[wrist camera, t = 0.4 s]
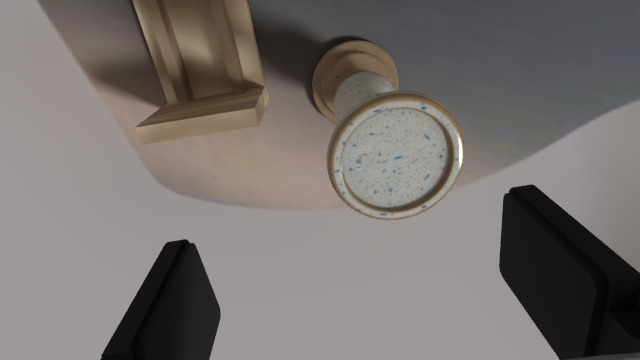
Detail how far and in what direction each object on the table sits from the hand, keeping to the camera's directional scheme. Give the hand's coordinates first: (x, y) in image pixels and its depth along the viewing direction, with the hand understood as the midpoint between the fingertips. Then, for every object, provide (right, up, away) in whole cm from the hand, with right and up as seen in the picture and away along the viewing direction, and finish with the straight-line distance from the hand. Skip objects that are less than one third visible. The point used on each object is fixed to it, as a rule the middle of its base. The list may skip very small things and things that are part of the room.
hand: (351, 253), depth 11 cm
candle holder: (+3, +12, +27) cm, 30 cm away
